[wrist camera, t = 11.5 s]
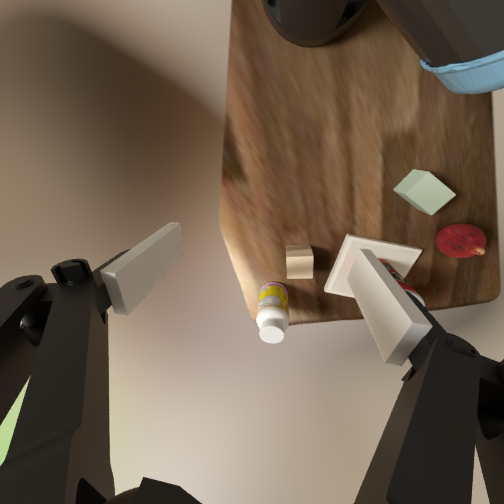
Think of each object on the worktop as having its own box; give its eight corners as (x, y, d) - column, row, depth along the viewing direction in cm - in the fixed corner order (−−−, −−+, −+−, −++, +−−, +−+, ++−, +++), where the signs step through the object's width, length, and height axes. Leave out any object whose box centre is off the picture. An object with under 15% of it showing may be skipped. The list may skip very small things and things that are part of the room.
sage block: (413, 169, 33) (428, 171, 29) (438, 189, 34) (456, 194, 30) (392, 189, 35) (405, 194, 31) (416, 208, 36) (431, 215, 32)
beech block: (285, 245, 42) (286, 257, 38) (310, 244, 42) (313, 256, 37) (286, 265, 45) (287, 278, 40) (309, 265, 44) (312, 278, 39)
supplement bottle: (287, 303, 49) (288, 349, 38) (260, 301, 50) (254, 345, 39) (288, 281, 46) (290, 324, 35) (260, 280, 47) (253, 321, 36)
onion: (419, 244, 38) (450, 265, 31) (434, 215, 36) (472, 232, 29) (451, 248, 38) (489, 270, 31) (469, 219, 35) (516, 237, 28)
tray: (347, 233, 39) (349, 236, 38) (418, 247, 39) (422, 250, 38) (324, 288, 46) (325, 292, 45) (384, 300, 45) (387, 304, 44)
